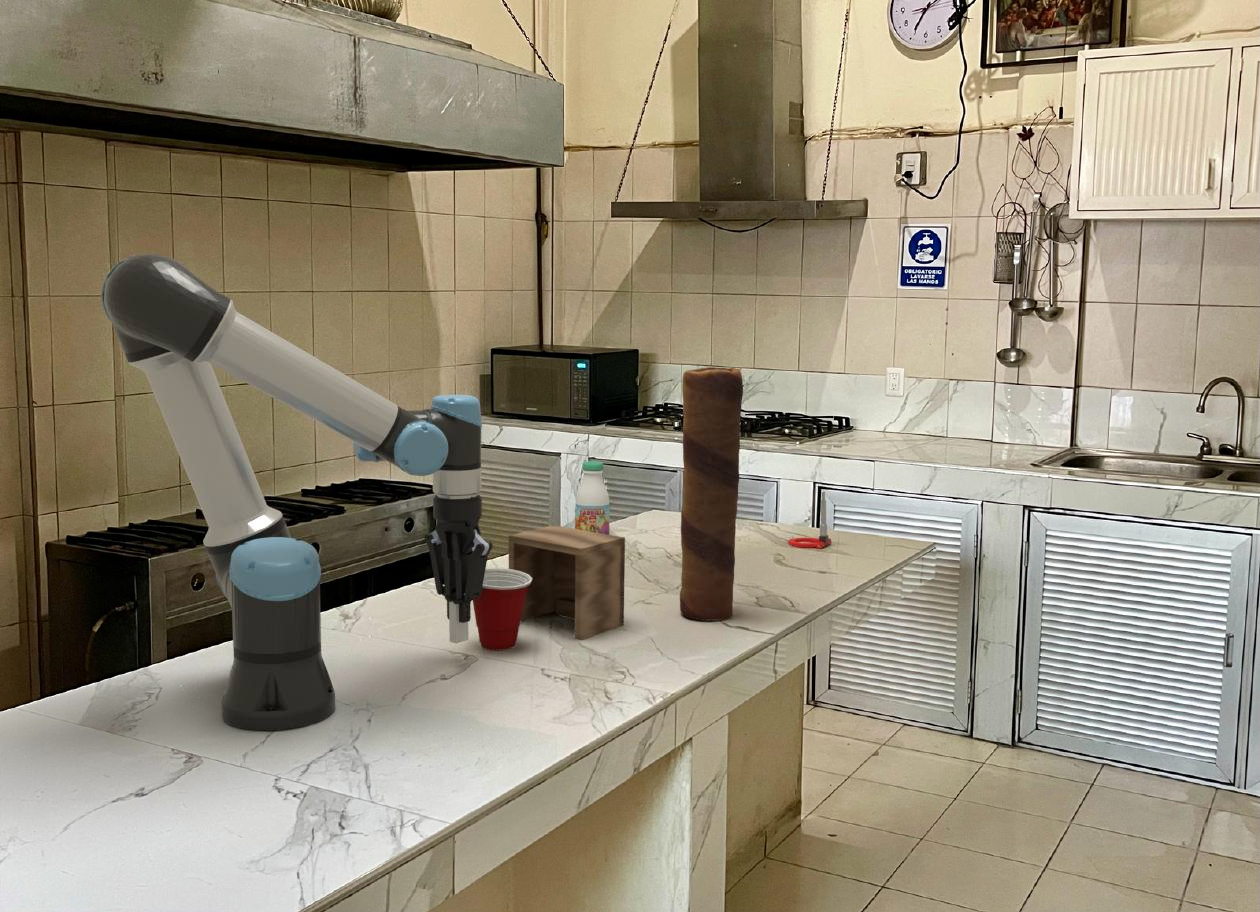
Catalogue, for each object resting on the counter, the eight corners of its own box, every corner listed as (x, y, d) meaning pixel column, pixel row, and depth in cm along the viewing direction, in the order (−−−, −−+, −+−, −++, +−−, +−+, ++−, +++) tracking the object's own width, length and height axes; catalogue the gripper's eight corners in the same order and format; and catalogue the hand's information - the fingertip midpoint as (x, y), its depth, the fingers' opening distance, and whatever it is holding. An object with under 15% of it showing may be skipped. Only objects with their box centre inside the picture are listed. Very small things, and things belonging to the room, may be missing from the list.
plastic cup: (502, 660, 192) (502, 586, 190) (452, 647, 198) (452, 576, 197) (545, 644, 201) (546, 573, 199) (496, 632, 207) (496, 564, 205)
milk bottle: (571, 547, 274) (571, 460, 272) (603, 545, 277) (604, 459, 274) (579, 554, 267) (580, 465, 264) (613, 553, 269) (614, 464, 267)
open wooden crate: (580, 640, 203) (581, 548, 201) (508, 622, 213) (508, 535, 211) (623, 624, 213) (625, 537, 210) (553, 608, 223) (553, 525, 220)
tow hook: (782, 547, 280) (820, 550, 276) (782, 492, 279) (820, 494, 274) (796, 541, 287) (833, 544, 283) (795, 487, 286) (833, 489, 281)
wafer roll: (729, 625, 213) (736, 370, 207) (671, 619, 217) (676, 368, 210) (743, 611, 223) (750, 367, 217) (688, 605, 226) (693, 365, 220)
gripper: (504, 495, 187) (505, 643, 191) (445, 486, 195) (447, 628, 198) (470, 502, 181) (471, 654, 185) (410, 492, 189) (413, 638, 193)
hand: (459, 640), depth 192 cm, fingers closed
